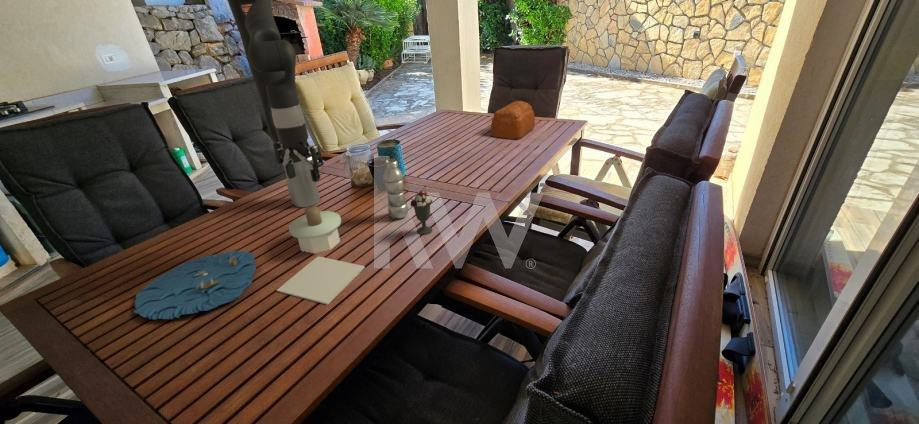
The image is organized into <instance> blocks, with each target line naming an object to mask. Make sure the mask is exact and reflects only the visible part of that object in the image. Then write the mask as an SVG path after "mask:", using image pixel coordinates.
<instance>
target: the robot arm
mask: <svg viewBox="0 0 919 424" xmlns="http://www.w3.org/2000/svg"><path fill="white" fill-rule="evenodd" d="M227 3H228V6H229V9H230V10H231V11H230V12H231V13H232V15H233V19H234V22H235V24H236V26H237V29H238V34H239V36H240V39H241V43H242V46H243V49H244V50H243V51H244V53H245V54H244V55H245V56H246V59H247V63H248V66H249V70H250V72H251V75H252V78H253V81H254V84H255V86H256V89H257V92H258V95H259V98H260V101H261V102H260V103H261V106H262V110H263V114H264V118H265V122H266V126H267V129H268V133H269V135H270V137H271V139H272V140H273V141H274V143H273V144H272V145H273V149H274V154H275V158H276V162H277V163H278V165H282V166H283V168H284V169H283V170H284V171H285V175H286V180H285V184H286V187H287V191H288V194H289V198H290V201H291V204H292V205H294V206H295V207H297V208H309V207H313V206H314V205H316V204H318V203H319V202H320V200H321V198H320V194H319V189H318V184H317V182H318V181H320V180H321V173H320V170H319V168H320V167H322V166H324V160H323V157H322V156H323V155H322V152H321V149H320V146H319V144H314V145H310V144H309V141H308V139H309V133H308V130H307V129H308V127H307V125H306V121H305V116H304V113H303V109H302V107H301V105H300V104H301V103H300V101H299V96H298V92H297V86H296V85H297V84H296V64H297V62H296V61H297V59H296V57H297V55H296V51H295V48H294V47H293V45H292V44H291V43H290V42H289V41H288V40H285V39H281V38H282V37H281V34H280V30H279V29H278V26H277V23H276V20H275V18H274V17H275V16H274V13H273V7H272V2H271V0H227ZM246 5H250V7H249V9H248V10H247V12H245V10H244V9H243V6H246Z"/></svg>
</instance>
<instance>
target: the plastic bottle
mask: <svg viewBox="0 0 919 424" xmlns="http://www.w3.org/2000/svg"><path fill="white" fill-rule="evenodd" d="M384 163H385V165H384V166H385V168H386V169H385V170H384V171H383V172H384V173H383V174H382V180H383V183H384V186H385V190H386V194H387V212H388V214H389V217H391V218H393V219H395V220H396V219H403V218H405V217H406V216H407V215H408V213H409V207H408V204H407V202H406V197H405V192H404V189H405V188H404V174H403V172H402V171H401V169H400V168H399V164H398V160H397V159H395V158H390V159H386V160H385V161H384Z"/></svg>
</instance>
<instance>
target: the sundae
mask: <svg viewBox="0 0 919 424" xmlns="http://www.w3.org/2000/svg"><path fill="white" fill-rule="evenodd" d="M423 188H424V189H426V188H427V185H424V186H423ZM424 189H422V190H420V191H419V192H418V193H417V194H416V195H415V196H414V198H412V197H411V198H410V199H411V201H410V207H413V210H414V214H415V217H416V219H417V220H418V221H420V222H421V226H420V227H418V228H417V230H416V232H417V234H418V235H429V234H431V233H432V232H433V228H432V227H431V226H427V224H426V223H427V222H426V221H428V220H429V219H430V215H431V204H432V203H433V200H432V199H431V198H430V197H429V195H428V193H427V192H426V191H424ZM423 191H424V192H423Z"/></svg>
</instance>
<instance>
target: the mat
mask: <svg viewBox="0 0 919 424" xmlns="http://www.w3.org/2000/svg"><path fill="white" fill-rule="evenodd" d="M365 268H366V267H365V265H361V264H356V263H353V262H352V263H351V262H347V261H343V260H342V261H341V260H338V259H332V258H328V257H322V256H319V255H317V257H315V258H314V259H313V260H312V261H310V262H308V264H307V265H306V266H304V267H303V268H302V269H301V270H299V271H298V272H297V273H296V274H294V275H293V276H292V277H290V279H288V280H287V281H286V282H285V283H283V284H282V285H281V286H279V288H277V289H276V292H278V291H279V293H283V294H286V295H290V296H293V297H297V298H300V299H305V300H308V301H312V302H315V303H320V304H323V305H327V306H328V305H330V303H331V302H332V301H333V300H334V299H335V298H336V297H337V296H338V295H339V294H340V293H341V292H342V291H343V290H344V289H345V288H346V287H347V286H349V284H350V283H351V282H352V281H353V280H354V279H355V278H357V276H358V275H359V274H361V272H362V271H363V270H364V269H365Z"/></svg>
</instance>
